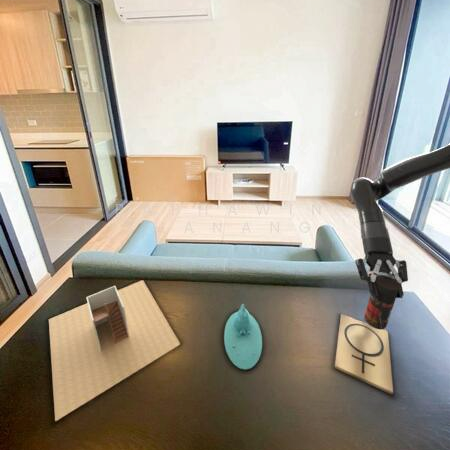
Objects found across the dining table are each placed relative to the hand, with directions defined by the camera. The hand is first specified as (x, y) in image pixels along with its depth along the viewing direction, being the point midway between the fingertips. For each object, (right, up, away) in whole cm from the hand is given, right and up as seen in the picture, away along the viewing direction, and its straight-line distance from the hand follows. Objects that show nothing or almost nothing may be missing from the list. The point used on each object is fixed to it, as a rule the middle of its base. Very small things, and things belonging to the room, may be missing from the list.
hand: (387, 297), depth 69 cm
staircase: (-84, -16, +11) cm, 86 cm away
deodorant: (0, -10, +6) cm, 12 cm away
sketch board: (-4, -19, +5) cm, 20 cm away
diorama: (-41, -17, +9) cm, 45 cm away
